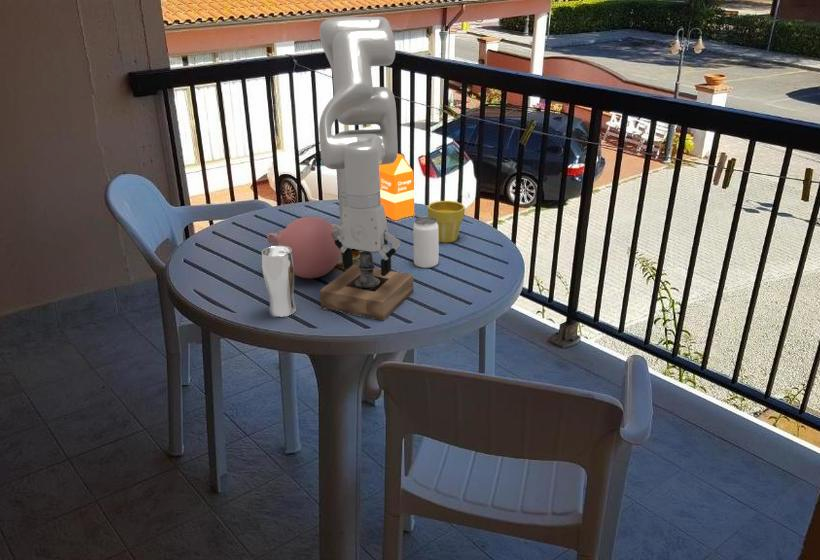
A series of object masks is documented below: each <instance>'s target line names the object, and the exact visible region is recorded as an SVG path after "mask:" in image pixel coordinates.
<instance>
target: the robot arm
mask: <svg viewBox="0 0 820 560" xmlns="http://www.w3.org/2000/svg"><path fill="white" fill-rule="evenodd" d="M318 30H319V31H318V32H319V40H320V43H321V46H322V49H323V51H324V53H325V56H326V59H327V61H328V62H329V65H330V68H331V71H332V72H331V73H332V83H333V97H332V98H331V99H330V100H329V101H328V103H327V104H326V105H325V107H324V109H323V111H322V114H321V115H320V120H319V125H318V126H319V127H318V128H319V129H318V131H319V147H320V148H319V149H320V158H321V161H322V163H323V166H324V167H326V168H327V169H329V170H336V176H337V177H336V179H337V190H338V192H337V193H338V206H339V221H340V224H337V223H330V224H331V225H332V226H333V227H334V229H335V230H334V231H333V232H331V236H332V238H333V240H334V241H335V244H336V246H337V247H338V248H339V249H340V252H341V257H342V264H343V270H345V271H346V270H348V269H349V268H350V267H352V266H353V265H354V258H353V250H352V249H355V250H357V251H362V252H364V251H367V252H371V253H378V254H379V256H381V260H380V269H381V275H382V276H385V275H387V274H388V273H389V272H390V271H392V258H391V257H392V256H393V255H395V254H396V253H397V252H398V250H399V248H400V246H401V244H402V241H401V240H400V239H398V238H397V237H396V236H395V235H393V234H391V233H390V232H388V231H389V228H388V221H387V220H388V218H386V214H385V210H384V206H383V205H382V204H381V197H380V171H379V165H388V164H392V163H394V162H395V161H396V159H397V154H399V153H398V151H399V147H398V145H399V144H398V141H399V140H398V123H397V122H398V120H397V107H396V105H397V104H396V100H395V95H394V93H393V91H392V89H390V88H388V87H385V86H373V78H372V67H382V66H383V67H385V66H391V65H392V64H394V63H393V62H394V61H395V58H396V42H395V36H394V32H393V30H392V28H391V25H390V22H389V20H388V19H387V18H385V17H383V16H345V17H342V16H341V17H334V18H333V17H332V18H328V19H325V20H324V21H322V22H321V23H320V26H319V28H318ZM336 120H337V121H338V123H339V124H340V125H341V124H342V125H346V126H361V125H363V126H366V125H369V126H370V125H377V126H378V127H379V128H377V129H375V128H373V129H351V130H343V131H340V132H338V133H337V134H335V135H333V134H332V127H333V123H334V122H335V121H336ZM389 243H390V244H391V245H392V246H391V248H390V247H389V246H388V245H389ZM355 250H354V251H355Z"/></svg>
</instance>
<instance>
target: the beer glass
mask: <svg viewBox="0 0 820 560" xmlns="http://www.w3.org/2000/svg"><path fill="white" fill-rule="evenodd" d="M261 265H262V266H261V267H262V275H263V280H264V283H265V286H266V289H267V290H266V291H267V292H268V296H269V314H270V313H271V314H272V315H274V316H280V317H283V316H289V315H291V314H293V313H294V312H295V311H296V309H297V307H296V302H295V297H294V289H295V279H296V278H295V277H296V275H295V267H294V260H293V254H292V249H291V248H290V247H287V246H277V245H272V246H268V247H266V248H264V249H262V250H261ZM296 312H297V311H296Z"/></svg>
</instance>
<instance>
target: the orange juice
mask: <svg viewBox="0 0 820 560" xmlns="http://www.w3.org/2000/svg"><path fill="white" fill-rule="evenodd" d="M379 171H380V197H381V204H382V205H383V206H384V210H385V214H386V216H387V217H389V218H391V219H393V220H398V219H401V218H404V217H408V216H413V215H414V216H415V185H414V184H415V183H414V182H415V179H414V170H413V169H412V167H411V166H410V164H409V163H408V160H407V159H406V158H405V156H404V155H403V154H401V153H398V154H397V159H396V161H395V162H394V163H392V164H388V165H379ZM414 216H413V217H414ZM393 220H392V221H393Z"/></svg>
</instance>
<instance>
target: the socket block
mask: <svg viewBox="0 0 820 560" xmlns="http://www.w3.org/2000/svg"><path fill="white" fill-rule="evenodd" d="M359 266H360V265H357V264H353V265H352V266H351V267H350V268H348V269H347V270H346V269H345V271H344V272H342V273H341V274H339V275H338V276H337V277H335V279H333V280H332V281H330V282H329V283H328V284H326V285H325V286H324V287H322V288H321V289H320V290H319V297H320V308H321V307H322V308H327V309H332V310H337V311H342V312H345V313H344V314H347V313H350V314H349V315H352V314H355V315H354V316H357V315H361V316H360V317H362V316H365V317H364V318H367V317H368V319H372V318H374V319H373V320H377V319H378V321H382V320H383V322H384V321H385V320H386V319H388V317H389V316H391V314H392V313H393V312H394V311H395V310H396V309H398V307H400V306H401V305H402V304H403V303H404V302H405V301H406V300H407V299H408V298H409V297H410V296H411V295H412V294H413V293H414V274H410V273H404V272H400V271H399V272H398V271H394V270H393V271H392V270H390V272H389V273H388V274H387V275H385V276H382V275H381V268H375V267H374V268H373V274H374V277H375V278H378V279H379V280H380V283H379V286H378V289H377V290H376V291H375V292H374V291H368V290H363V289H357V287H356V285H355V281H356V280H357V279H359V278H360V269H359ZM322 308H321V309H322ZM327 309H326V310H327ZM332 310H331V311H332ZM337 311H336V312H337ZM342 312H341V313H342Z"/></svg>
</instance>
